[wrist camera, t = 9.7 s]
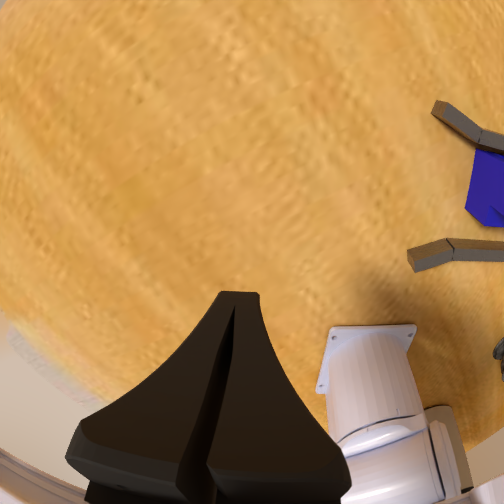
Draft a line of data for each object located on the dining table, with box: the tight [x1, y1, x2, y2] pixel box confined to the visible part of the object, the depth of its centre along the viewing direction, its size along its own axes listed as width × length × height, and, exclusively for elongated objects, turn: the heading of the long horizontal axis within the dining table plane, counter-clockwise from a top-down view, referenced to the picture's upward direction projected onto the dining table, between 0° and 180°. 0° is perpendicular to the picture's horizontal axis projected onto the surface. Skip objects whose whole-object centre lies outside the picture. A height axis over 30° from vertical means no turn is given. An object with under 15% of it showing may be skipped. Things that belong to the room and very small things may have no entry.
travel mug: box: [424, 406, 474, 494], centre depth 26 cm, size 8×8×18 cm
